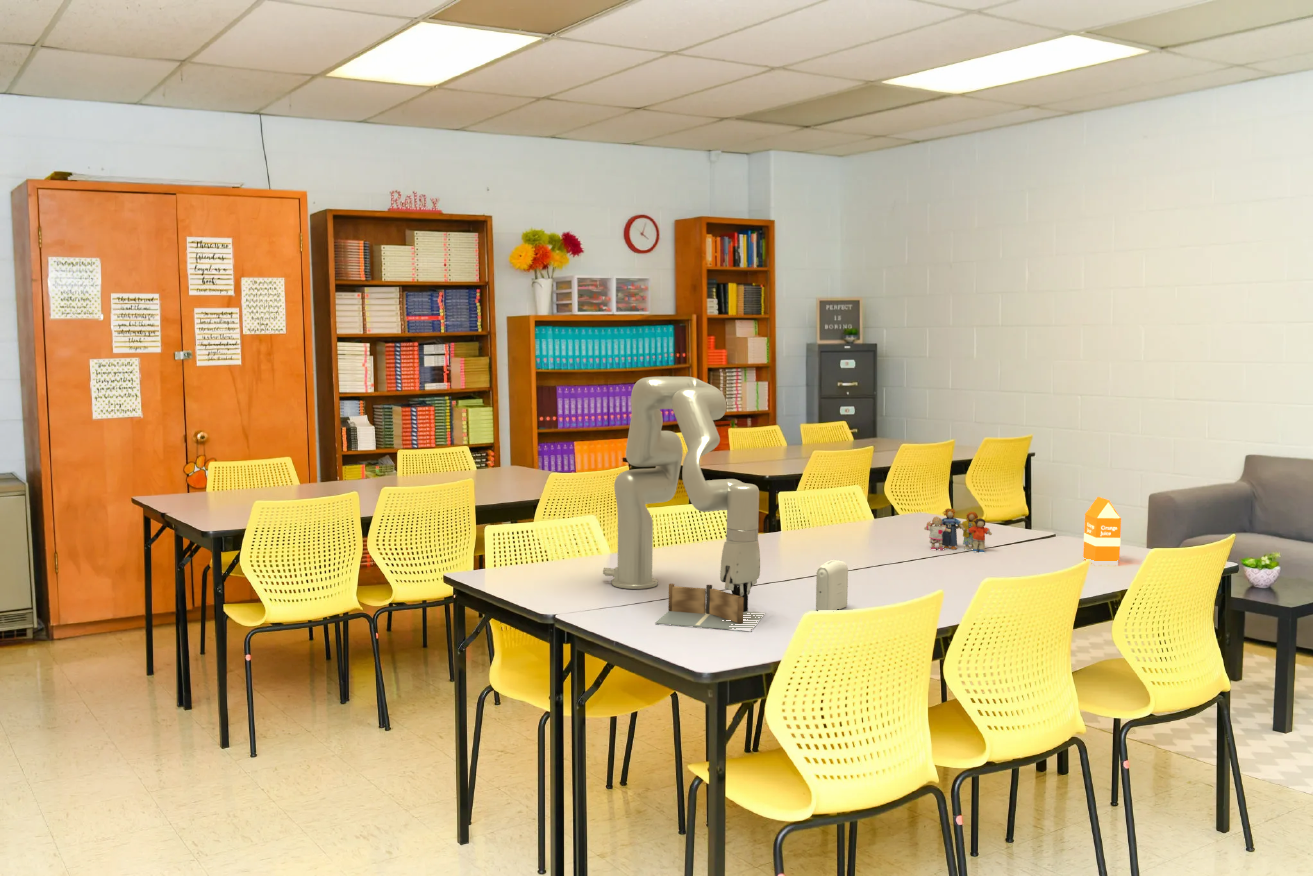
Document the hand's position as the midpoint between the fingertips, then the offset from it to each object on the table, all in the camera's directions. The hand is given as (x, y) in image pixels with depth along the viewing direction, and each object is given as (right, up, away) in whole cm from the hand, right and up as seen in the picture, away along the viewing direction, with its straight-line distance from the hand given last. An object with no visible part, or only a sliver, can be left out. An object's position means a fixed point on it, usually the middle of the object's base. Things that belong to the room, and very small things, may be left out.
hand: (740, 610), depth 270 cm
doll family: (+78, +5, +98) cm, 125 cm away
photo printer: (+24, -2, +12) cm, 26 cm away
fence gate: (-3, -2, -1) cm, 4 cm away
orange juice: (+117, +3, +77) cm, 140 cm away
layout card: (-7, -2, 0) cm, 7 cm away
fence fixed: (-12, -1, +6) cm, 13 cm away
